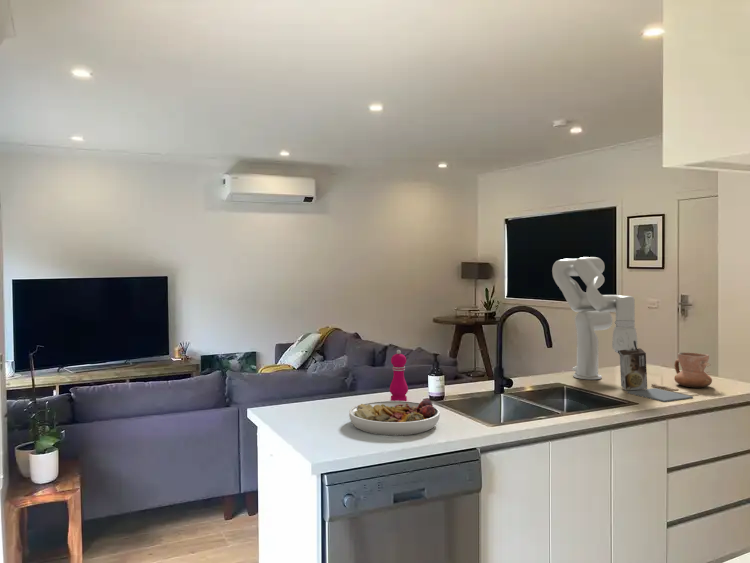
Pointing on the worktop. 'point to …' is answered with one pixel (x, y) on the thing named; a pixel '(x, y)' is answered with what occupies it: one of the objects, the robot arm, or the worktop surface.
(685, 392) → the turner
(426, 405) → the bowl
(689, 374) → the ceramic jug
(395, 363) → the pepper mill
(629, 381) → the coffee box
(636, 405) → the worktop surface
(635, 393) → the mat
